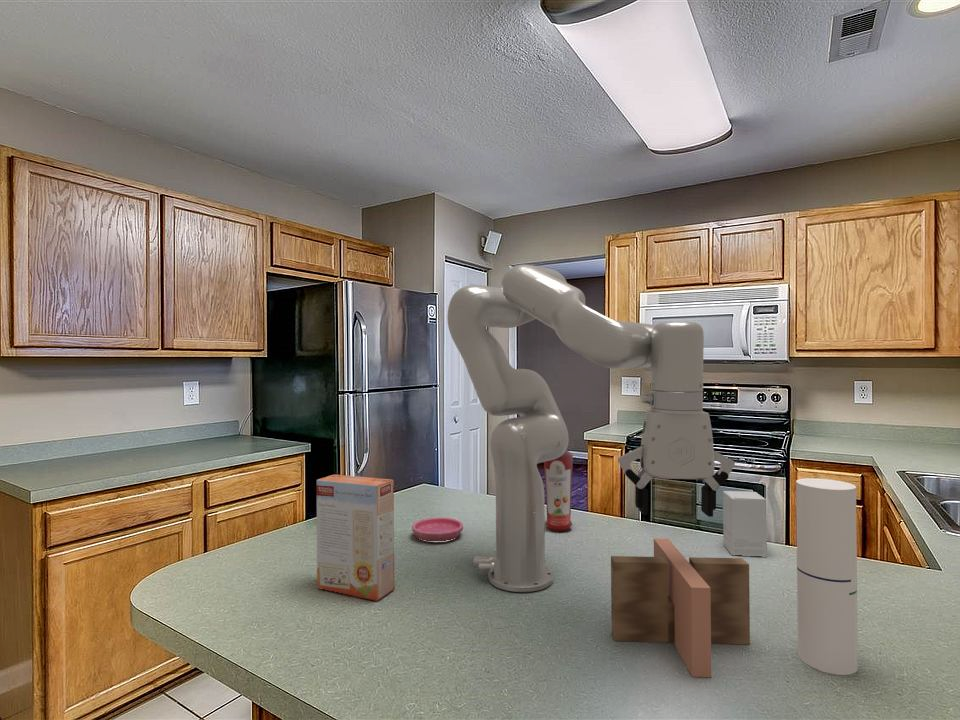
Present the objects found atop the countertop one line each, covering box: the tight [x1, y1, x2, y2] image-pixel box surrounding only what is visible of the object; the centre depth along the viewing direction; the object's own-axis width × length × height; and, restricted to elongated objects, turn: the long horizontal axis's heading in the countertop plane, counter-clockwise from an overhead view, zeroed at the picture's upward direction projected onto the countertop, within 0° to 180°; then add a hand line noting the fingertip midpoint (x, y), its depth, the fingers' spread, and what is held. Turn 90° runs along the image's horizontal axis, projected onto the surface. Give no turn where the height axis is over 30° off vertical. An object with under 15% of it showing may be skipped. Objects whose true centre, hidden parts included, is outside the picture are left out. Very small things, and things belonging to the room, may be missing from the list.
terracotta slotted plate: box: [653, 538, 712, 678], centre depth 82 cm, size 20×2×12 cm, turn 176°
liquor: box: [543, 449, 574, 533], centre depth 136 cm, size 7×7×28 cm
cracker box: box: [316, 474, 395, 602], centre depth 100 cm, size 14×6×21 cm, turn 65°
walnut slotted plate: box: [610, 555, 751, 645], centre depth 82 cm, size 20×2×12 cm, turn 86°
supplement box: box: [722, 490, 768, 558], centre depth 119 cm, size 7×7×13 cm
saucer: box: [411, 517, 464, 541], centre depth 130 cm, size 12×12×3 cm
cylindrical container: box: [795, 477, 859, 676], centre depth 76 cm, size 7×7×25 cm
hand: (674, 513), depth 82 cm, fingers open, 9 cm apart
